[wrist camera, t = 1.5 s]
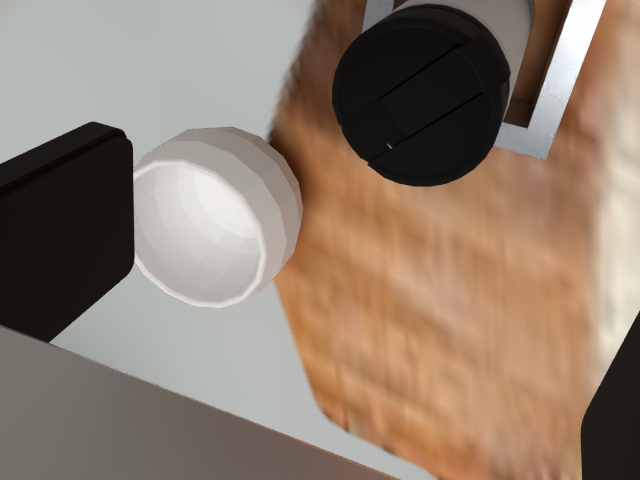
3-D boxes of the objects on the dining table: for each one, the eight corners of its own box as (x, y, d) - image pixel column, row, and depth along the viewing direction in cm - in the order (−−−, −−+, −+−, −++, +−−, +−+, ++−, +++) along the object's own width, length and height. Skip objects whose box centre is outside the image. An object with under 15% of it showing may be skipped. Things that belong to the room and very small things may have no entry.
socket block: (409, -117, 35) (388, -118, 31) (625, -77, 33) (633, -73, 29) (370, 85, 42) (348, 106, 38) (548, 131, 39) (545, 160, 35)
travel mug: (560, 25, 36) (550, 136, 20) (463, 87, 40) (387, 224, 23) (504, -69, 35) (443, -33, 18) (409, 3, 38) (288, 87, 22)
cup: (166, 201, 53) (94, 256, 45) (208, 76, 46) (131, 114, 38) (288, 275, 52) (237, 344, 44) (350, 160, 45) (302, 218, 37)
